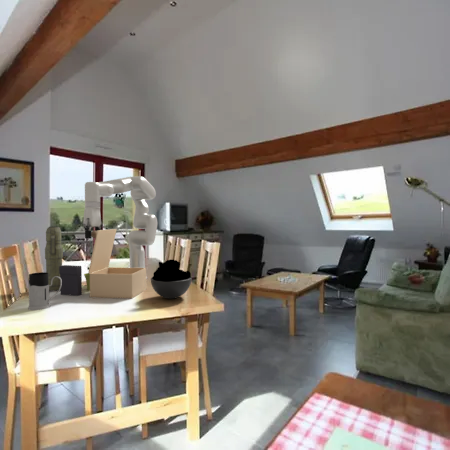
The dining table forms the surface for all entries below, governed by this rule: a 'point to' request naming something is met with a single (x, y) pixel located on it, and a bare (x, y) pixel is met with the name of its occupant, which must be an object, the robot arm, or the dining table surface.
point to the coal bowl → (170, 279)
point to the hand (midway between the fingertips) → (93, 237)
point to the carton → (117, 282)
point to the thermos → (53, 256)
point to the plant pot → (87, 280)
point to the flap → (102, 249)
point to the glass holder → (39, 291)
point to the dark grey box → (70, 280)
